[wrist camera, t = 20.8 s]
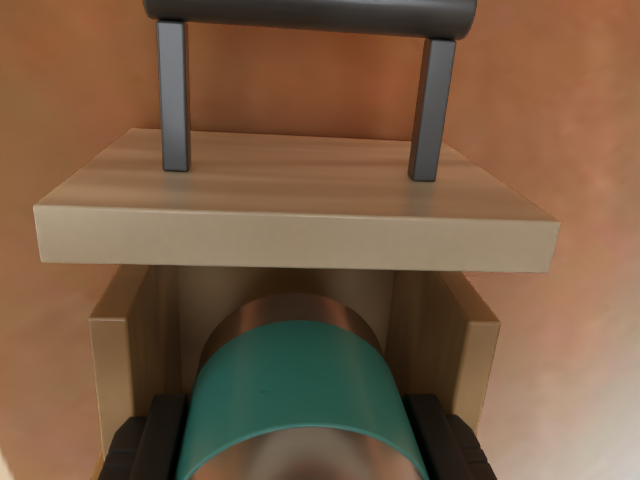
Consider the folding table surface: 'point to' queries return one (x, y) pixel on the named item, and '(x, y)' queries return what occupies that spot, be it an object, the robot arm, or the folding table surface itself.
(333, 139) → the drawer
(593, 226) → the folding table surface
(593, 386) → the folding table surface
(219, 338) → the tin can
